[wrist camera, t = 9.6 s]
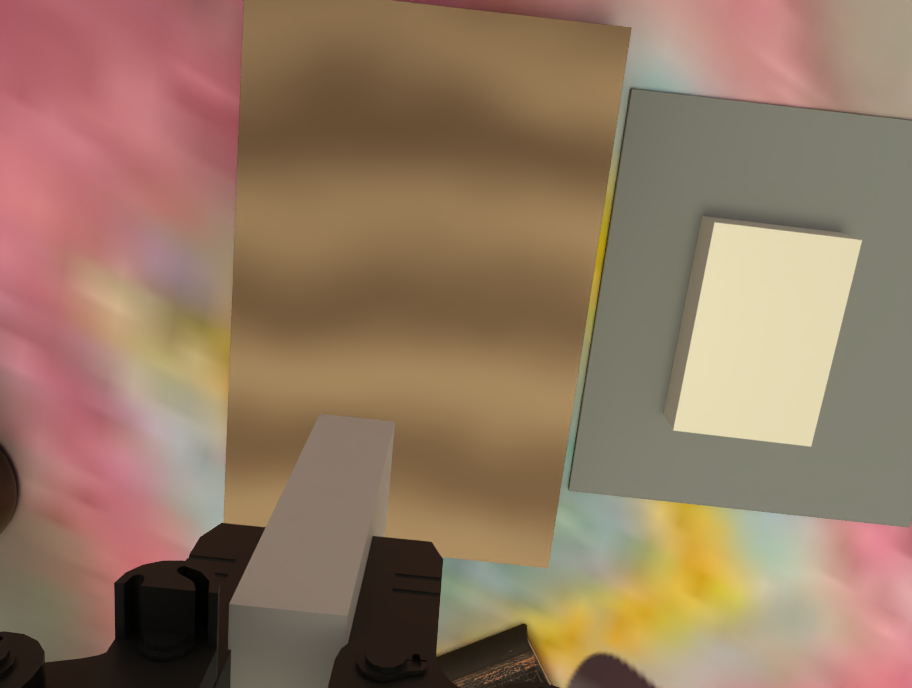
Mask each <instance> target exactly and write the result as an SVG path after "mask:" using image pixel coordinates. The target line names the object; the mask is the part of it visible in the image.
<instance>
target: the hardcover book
mask: <svg viewBox="0 0 912 688" xmlns="http://www.w3.org/2000/svg"><path fill="white" fill-rule="evenodd" d="M437 663H438V665H439V667H440V669H441V671H442V672H443V674H444V675H445V676H446V677H447V678H448V679H449V680H450V681H451V682H452V683H454V684H455V685H457V686H458V687H460V688H503V687H505V686H506V685H510V684H515V683H519V682H524V681H527V682H541V683H547V684H550V685H551V683H550V681H549V679H548V677H547V675H546V673H545V671H544V669H543V667H542V665H541V663H540V661H539V659H538V657H537V655H536V653H535V651H534V649H533V647H532V645H531V643H530V641H529V639H528V636H527V625H525V624H523V625H520V626H518V627H515V628H512V629H510V630H507V631H505V632H502V633H499V634H497V635H494V636H492V637H489V638H486V639H484V640H481V641H479V642H476V643H473V644H471V645H468V646H466V647H463V648H460V649H458V650H455V651H452V652H450V653H447V654H445V655H442V656H439V657H437Z"/></svg>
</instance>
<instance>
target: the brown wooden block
mask: <svg viewBox="0 0 912 688" xmlns="http://www.w3.org/2000/svg"><path fill="white" fill-rule="evenodd" d="M630 34H631V27H622V26H613V25H604V24H596V23H587V22H578V21H569V20H561V19H552V18H543V17H534V16H525V15H517V14H508V13H499V12H490V11H481V10H473V9H464V8H455V7H446V6H437V5H429V4H420V3H411V2H402V1H393V0H244V7H243V33H242V59H241V85H240V110H239V136H238V162H237V188H236V214H235V240H234V266H233V291H232V317H231V343H230V369H229V395H228V421H227V447H226V472H225V498H224V523H229V524H239V525H249V526H259V527H266V526H267V523H268V521H269V519H270V517H271V515H272V513H273V511H274V509H275V507H276V505H277V503H278V500H279V498H280V496H281V494H282V492H283V490H284V488H285V486H286V484H287V482H288V479H289V477H290V475H291V473H292V471H293V469H294V467H295V465H296V463H297V461H298V458H299V456H300V454H301V452H302V450H303V448H304V446H305V444H306V442H307V440H308V437H309V435H310V433H311V431H312V429H313V427H314V425H315V423H316V421H317V419H318V416H319V414H326V415H336V416H346V417H356V418H365V419H375V420H385V421H395V427H394V439H393V451H392V463H391V474H390V486H389V498H388V510H387V522H386V533H385V537H390V538H399V539H409V540H419V541H429V542H432V543H433V544H434V546H435V548H436V549H437V551H438V552H439V554H440V555H441V557H449V558H458V559H467V560H477V561H486V562H496V563H505V564H514V565H524V566H533V567H542V568H548V566H549V560H550V553H551V547H552V540H553V534H554V527H555V521H556V514H557V508H558V501H559V495H560V488H561V482H562V475H563V469H564V462H565V456H566V449H567V443H568V436H569V430H570V423H571V417H572V410H573V404H574V397H575V391H576V384H577V378H578V371H579V365H580V358H581V352H582V345H583V339H584V332H585V326H586V320H587V313H588V307H589V300H590V294H591V287H592V281H593V274H594V268H595V261H596V255H597V248H598V242H599V235H600V229H601V222H602V216H603V209H604V203H605V196H606V190H607V183H608V177H609V170H610V164H611V157H612V151H613V144H614V138H615V131H616V125H617V118H618V112H619V105H620V99H621V92H622V86H623V79H624V73H625V66H626V60H627V54H628V47H629V41H630Z"/></svg>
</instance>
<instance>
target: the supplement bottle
mask: <svg viewBox="0 0 912 688" xmlns="http://www.w3.org/2000/svg"><path fill="white" fill-rule="evenodd" d="M16 500H17V487H16V480H15V476H14V473H13V470H12V468H11V465H10V463H9V461H8V460H7V458H6V456H5V455H4V453H3V452H2V451H1V450H0V534H1V533H2V532H3V531H4V529H5V528H6V527H7V525H8V524H9V522H10V520H11V518H12V515H13V513H14V510H15V506H16Z"/></svg>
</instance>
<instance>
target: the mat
mask: <svg viewBox="0 0 912 688" xmlns="http://www.w3.org/2000/svg"><path fill="white" fill-rule="evenodd" d="M702 216H708V217H716V218H725V219H733V220H741V221H750V222H758V223H766V224H774V225H783V226H791V227H799V228H808V229H816V230H824V231H832V232H841V233H844V234H847V235H850V236H852V237H855V238H858V239H861V240H862V243H861V247H860V251H859V255H858V259H857V263H856V267H855V271H854V275H853V280H852V284H851V288H850V292H849V296H848V300H847V304H846V308H845V312H844V316H843V320H842V324H841V328H840V332H839V336H838V340H837V344H836V348H835V352H834V356H833V361H832V365H831V369H830V373H829V377H828V381H827V385H826V389H825V393H824V397H823V401H822V405H821V409H820V413H819V417H818V421H817V425H816V429H815V433H814V437H813V442H812V446H811V447H809V446H801V445H792V444H784V443H775V442H767V441H758V440H750V439H741V438H733V437H724V436H716V435H707V434H699V433H690V432H681V431H673V429H672V428H671V426H670V424H669V423H668V421H667V419H666V418H665V416H664V409H665V403H666V398H667V393H668V388H669V383H670V378H671V373H672V368H673V362H674V357H675V352H676V347H677V342H678V337H679V332H680V326H681V321H682V316H683V311H684V306H685V301H686V296H687V290H688V285H689V280H690V275H691V270H692V265H693V260H694V254H695V249H696V244H697V239H698V234H699V229H700V224H701V218H702ZM568 489H569V491H576V492H585V493H594V494H604V495H613V496H622V497H631V498H641V499H650V500H659V501H669V502H678V503H687V504H696V505H706V506H715V507H724V508H734V509H743V510H752V511H761V512H771V513H780V514H789V515H799V516H808V517H817V518H826V519H836V520H845V521H854V522H864V523H873V524H882V525H891V526H901V527H910V524H911V521H912V121H911V120H902V119H893V118H884V117H876V116H867V115H858V114H849V113H840V112H831V111H822V110H814V109H805V108H796V107H787V106H778V105H769V104H760V103H752V102H743V101H734V100H725V99H716V98H707V97H698V96H690V95H681V94H672V93H663V92H654V91H645V90H636V89H631V91H630V97H629V103H628V110H627V116H626V123H625V129H624V135H623V142H622V148H621V154H620V161H619V167H618V174H617V180H616V186H615V193H614V199H613V205H612V212H611V218H610V225H609V231H608V237H607V244H606V250H605V256H604V263H603V269H602V276H601V282H600V288H599V295H598V301H597V308H596V314H595V320H594V327H593V333H592V339H591V346H590V352H589V359H588V365H587V371H586V378H585V384H584V390H583V397H582V403H581V410H580V416H579V422H578V429H577V435H576V441H575V448H574V454H573V461H572V467H571V473H570V480H569V486H568Z"/></svg>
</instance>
